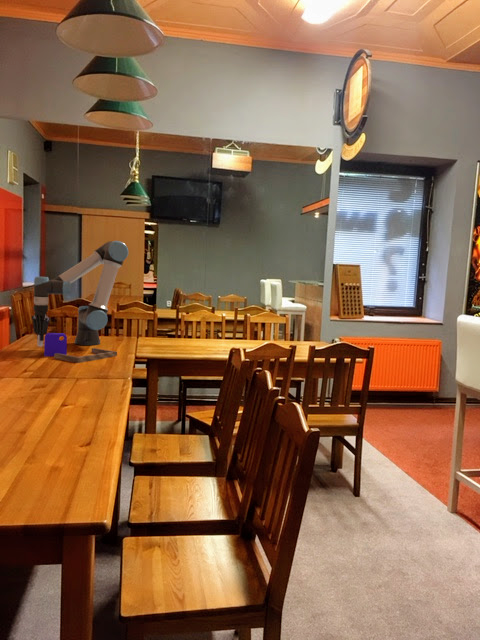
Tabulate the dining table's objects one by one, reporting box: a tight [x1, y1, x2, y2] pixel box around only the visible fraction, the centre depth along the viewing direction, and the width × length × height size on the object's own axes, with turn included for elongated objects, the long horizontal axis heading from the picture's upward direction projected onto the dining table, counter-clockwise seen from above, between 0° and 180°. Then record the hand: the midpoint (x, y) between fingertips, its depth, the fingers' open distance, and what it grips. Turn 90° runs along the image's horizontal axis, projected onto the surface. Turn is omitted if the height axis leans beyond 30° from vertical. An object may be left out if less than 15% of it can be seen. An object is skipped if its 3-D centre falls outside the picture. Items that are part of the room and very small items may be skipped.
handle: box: [53, 347, 118, 364], centre depth 273 cm, size 28×17×2 cm, turn 151°
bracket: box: [43, 332, 68, 357], centre depth 279 cm, size 18×11×12 cm, turn 23°
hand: (40, 346), depth 288 cm, fingers closed
